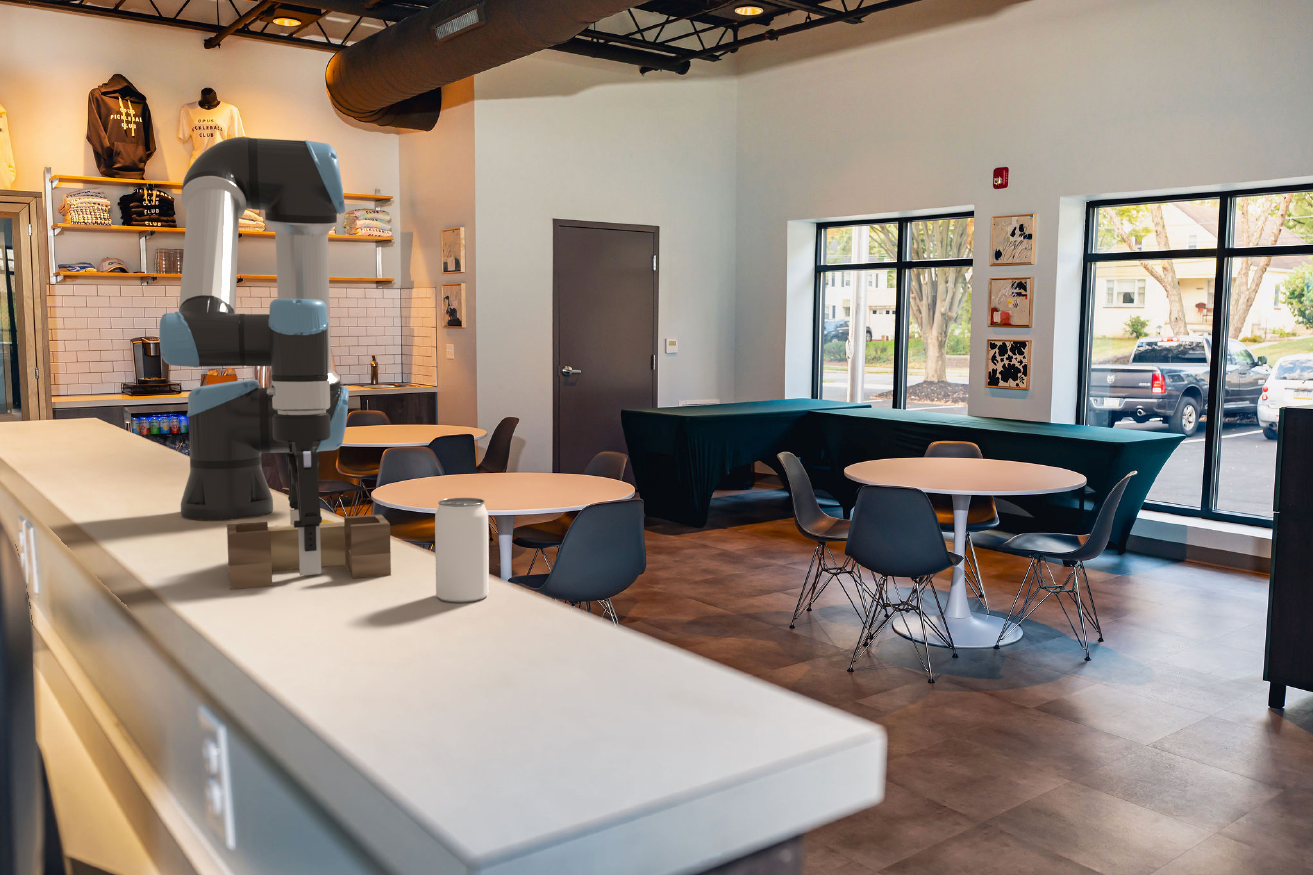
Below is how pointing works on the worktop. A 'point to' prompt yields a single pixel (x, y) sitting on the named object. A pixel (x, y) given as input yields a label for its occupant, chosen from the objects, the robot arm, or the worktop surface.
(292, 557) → the rail
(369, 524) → the post
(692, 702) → the worktop surface
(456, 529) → the can
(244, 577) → the post
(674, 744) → the worktop surface
